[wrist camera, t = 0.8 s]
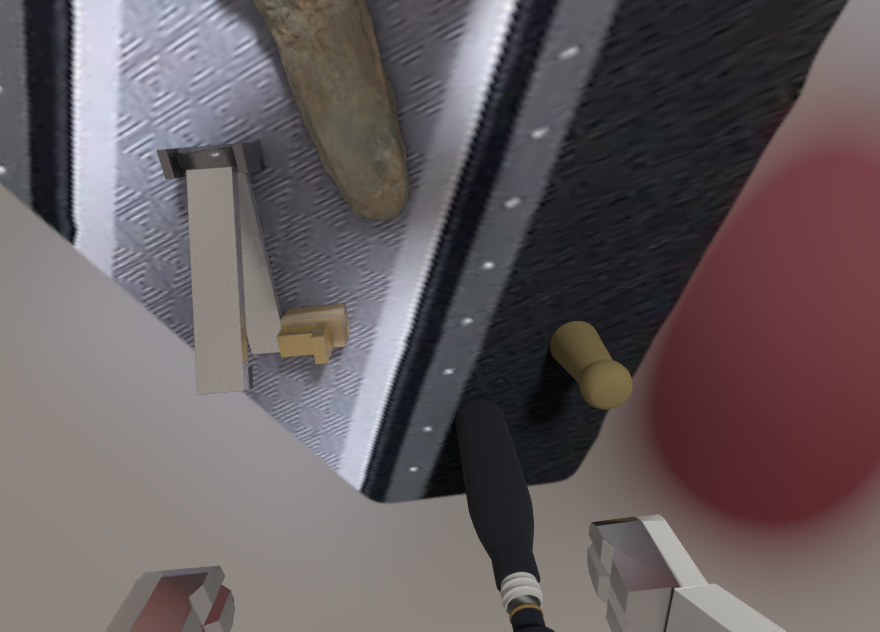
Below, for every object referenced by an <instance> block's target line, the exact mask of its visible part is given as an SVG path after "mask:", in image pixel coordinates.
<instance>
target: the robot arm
mask: <svg viewBox="0 0 880 632" xmlns="http://www.w3.org/2000/svg"><path fill="white" fill-rule="evenodd" d="M589 536H590V538H591V541H592V545H591V546H590V547H589V548H588V551H587V562H588V568H589V574H590V577H591V581H592V584H593V587H594V589H595V591H596V594H597V596H598V597H599V598H600V599H601V600H602V601H604V602H605V603H606V604H607V613H606V619H607V621H608V624H609V626H610V629H611V631H612V632H786V631H785V630H783V629H782V628H780V627H779V626H778V625H776V624H775V623H773V622H772V621H770V620H769V619H767V618H766V617H764V616H763V615H761V614H760V613H758V612H757V611H755V610H754V609H752V608H751V607H749V606H748V605H746V604H745V603H744V602H742V601H740V600H739V599H738V598H736V597H735V596H733V595H732V594H730V593H729V592H727V591H726V590H724V589H723V588H721V587H720V586H718V585H717V584H708V583H707V581H706V580H705V578H704V577H703V576H702V574H701V573H700V571H699V570H698V568H697V567H696V565H695V564H694V562H693V561H692V559H691V558H690V556H689V555H688V553H687V552H686V550H685V549H684V547H683V546H682V544H681V543H680V541H679V540H678V538H677V537H676V535H675V534H674V532H673V531H672V530H671V528H670V526H669V525H668V524H667V522H666V521H665V519H664V518H663V517H661V516H660V515H650V516H642V517H629V518H621V519H613V520H606V521H598V522H592V523H591V524H590V526H589ZM224 577H225V576H224V574H223V571H222V569H221V567H220V566H212V567H200V568H189V569H176V570H166V571H156V572H146V573H144V574H143V575H142V576H141V577H140V578H139V579H137V581H136V582H135V584H134V585H133V587H132V589H131V590H130V592H129V594H128V595H127V597H126V598H125V600H124V601H123V603H122V605H121V606H120V608H119V610H118V611H117V613H116V614H115V616H114V618H113V619H112V621H111V623H110V624H109V626H108V627H107V629H106V631H105V632H230V630H231V627H232V624H233V617H234V610H235V608H234V598H233V595H232V593H231V590H229V589H228V588H226V587H224V586H223V585H222V582H223V579H224Z"/></svg>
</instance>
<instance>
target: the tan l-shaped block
mask: <svg viewBox="0 0 880 632" xmlns="http://www.w3.org/2000/svg"><path fill="white" fill-rule="evenodd" d="M276 338H277V342H278V346H279V350H280V354H281V357H291V356H302V355H314V358H315V363H316V364H326V363H328V362H329V359H330V356H331V353H332V350H333V347H334V345H333V340H332V335H331V329H330V324H329V321H327V322H317V324H316V325H312V326H300V327H289V328H281V330H280V331H279V333H278V335H277V336H276Z"/></svg>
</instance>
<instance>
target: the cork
mask: <svg viewBox="0 0 880 632" xmlns="http://www.w3.org/2000/svg"><path fill="white" fill-rule="evenodd" d="M550 350H551V354H552V355H553V357H554V359H555V360H556V361H557V362H558V363H559V364H560V365H561V366H562V367H563V368H564V369H565V370H566V371H567V372H568V373H569V374H570V375H571V376H572V377H573V378H574V379H575V380H576V381H577V382H578V383H579V387H580V392H581V394H582V396H583V397H584V399H585V401H586V402H588V403H589V404H590V405H592V406H593V407H596V408H599V409H613V408H616V407H618V406H620V405H622V404H623V403H624V402H625V401H626V400H627V399H628V398H629V396H630V394H631V391H632V387H633V385H632V378H631V376H630V374H629V372H628V370H627V369H626V368H625V367H624V366H622V365H621V364H620V363H618V362H616V361H613V360H612V358H611V357H610V355H609V353H608V351H607V350H606V348H605V346H604V344H603V342H602V341H601V339H600V337H599V335H598V334H597V332H596V330H595V328H594V327H593V326H591V325H590V324H589V323H586V322H583V321H573V322H570V323H566V324H565V325H563V326H561V327H560V328H559V329H558V330H557V331H556V332H555V333H554V335H553V337H552V339H551V342H550Z"/></svg>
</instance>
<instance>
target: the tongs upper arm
mask: <svg viewBox="0 0 880 632" xmlns="http://www.w3.org/2000/svg"><path fill="white" fill-rule="evenodd" d="M232 145H233V144H231V145H217V146H203V147H190V148H180V149H179V150H178V153H177V158H178V163H179V166H180V168H181V170H182V172H183V173H184V174H185V175H186V176H187V195H188V216H189V237H190V258H191V279H192V300H193V321H194V341H195V360H196V361H195V362H196V383H197V395H202V394H212V393H224V392H234V391H245V390H249V389H253V380H252V367H248V349H247V332H246V314H245V296H244V279H243V261H242V243H241V226H240V208H239V190H238V173H237V172H238V168H237V163H236V159H235V155H234V151H233V147H232Z"/></svg>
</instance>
